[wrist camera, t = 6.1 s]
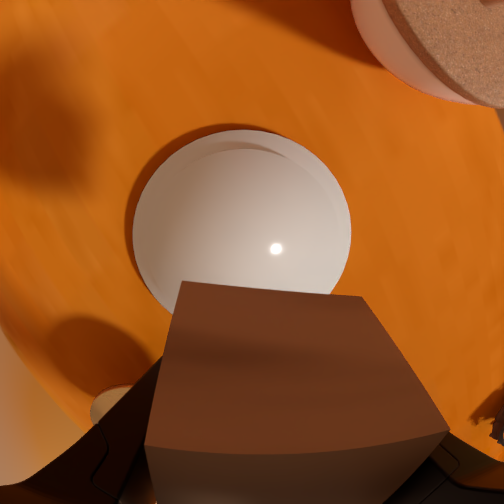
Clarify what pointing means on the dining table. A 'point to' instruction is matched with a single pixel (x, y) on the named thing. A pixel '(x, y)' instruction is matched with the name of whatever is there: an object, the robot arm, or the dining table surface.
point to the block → (283, 402)
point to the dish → (241, 218)
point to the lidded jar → (439, 45)
